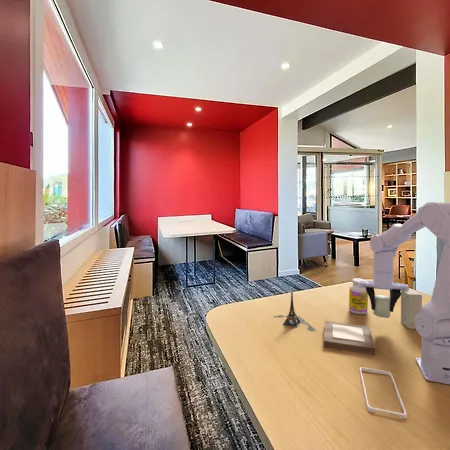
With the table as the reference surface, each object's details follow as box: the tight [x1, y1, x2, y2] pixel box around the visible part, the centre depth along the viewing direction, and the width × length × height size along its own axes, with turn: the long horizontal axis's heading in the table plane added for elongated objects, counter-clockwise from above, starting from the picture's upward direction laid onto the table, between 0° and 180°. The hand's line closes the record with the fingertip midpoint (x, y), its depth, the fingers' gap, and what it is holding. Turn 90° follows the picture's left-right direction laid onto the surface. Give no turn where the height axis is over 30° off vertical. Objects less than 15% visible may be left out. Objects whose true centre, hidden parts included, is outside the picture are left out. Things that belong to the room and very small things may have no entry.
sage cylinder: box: [373, 294, 391, 319], centre depth 93 cm, size 5×5×6 cm
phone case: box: [359, 366, 407, 420], centre depth 65 cm, size 7×1×15 cm
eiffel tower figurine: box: [273, 291, 317, 332], centre depth 100 cm, size 15×10×13 cm
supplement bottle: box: [348, 277, 369, 315], centre depth 108 cm, size 7×7×13 cm
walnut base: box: [323, 320, 376, 356], centre depth 89 cm, size 14×14×2 cm
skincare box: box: [400, 288, 423, 330], centre depth 96 cm, size 6×4×12 cm
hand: (381, 309), depth 93 cm, fingers closed on sage cylinder, 5 cm apart
